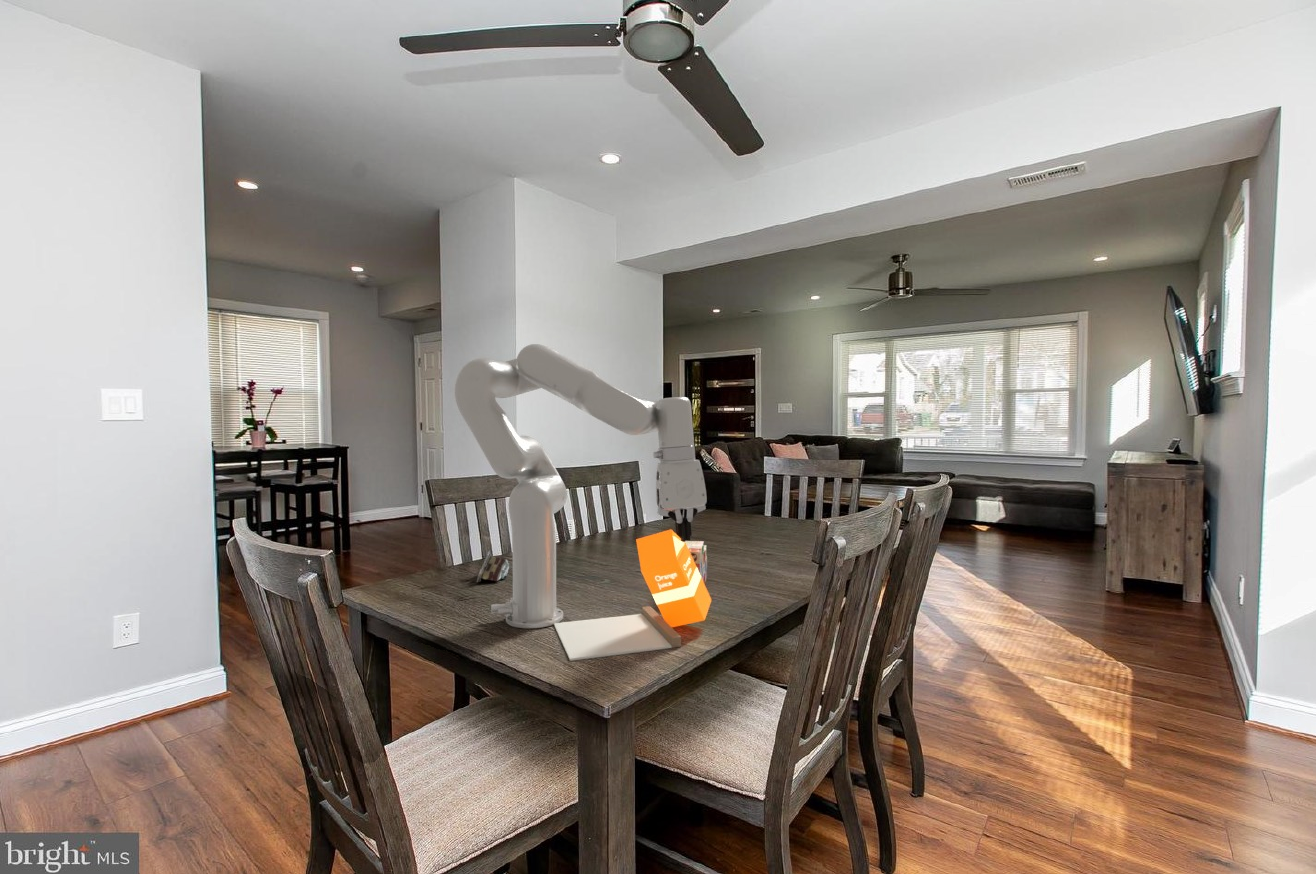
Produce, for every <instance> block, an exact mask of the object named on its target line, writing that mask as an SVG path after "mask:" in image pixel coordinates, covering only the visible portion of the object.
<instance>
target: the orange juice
mask: <svg viewBox="0 0 1316 874" xmlns="http://www.w3.org/2000/svg"><path fill="white" fill-rule="evenodd" d="M678 537H679V536H678V535H677V534H676V532H674V531H673V529H668V530H664V531H661V532H657V533H654V534H651V535H647V536H643V537H639V538H637V539H635V540H636V541H635V542H636V548H637V552H638V554H637V555H638V559H639V560H638V561H639V565H640V566H639V567H640V572H641V574H642V576H643V578H644V580H645V583H646V585H647V586H648V590H649V591H650V593H651V596H652V597H653V599H654V602H655V604H656V607H658V609H659V612H660V614H661V617H662V618H663V619H664V620H665V621H666V622H667V623H668V624H669V625H670V626H671V627H672V628H676V627H680V626H684V625H688V624H694V623H697V622H698V623H699V622H702V621H705V620H706V617H707V616H708V612H709V609H710V605H711V603H712V598H711V596H710V592H709V591H708V589H707V587H706V585H705V584H706V583H704V582H703V580H702V578H701V575H700V573H699V571H698V568H697V567H696V565H695V562H694V560H693V558H692V556H691V554H690V552H689V549H688V547H687V545H686V543H685V542H682V541H681V538H680V537H679V538H678Z"/></svg>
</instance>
